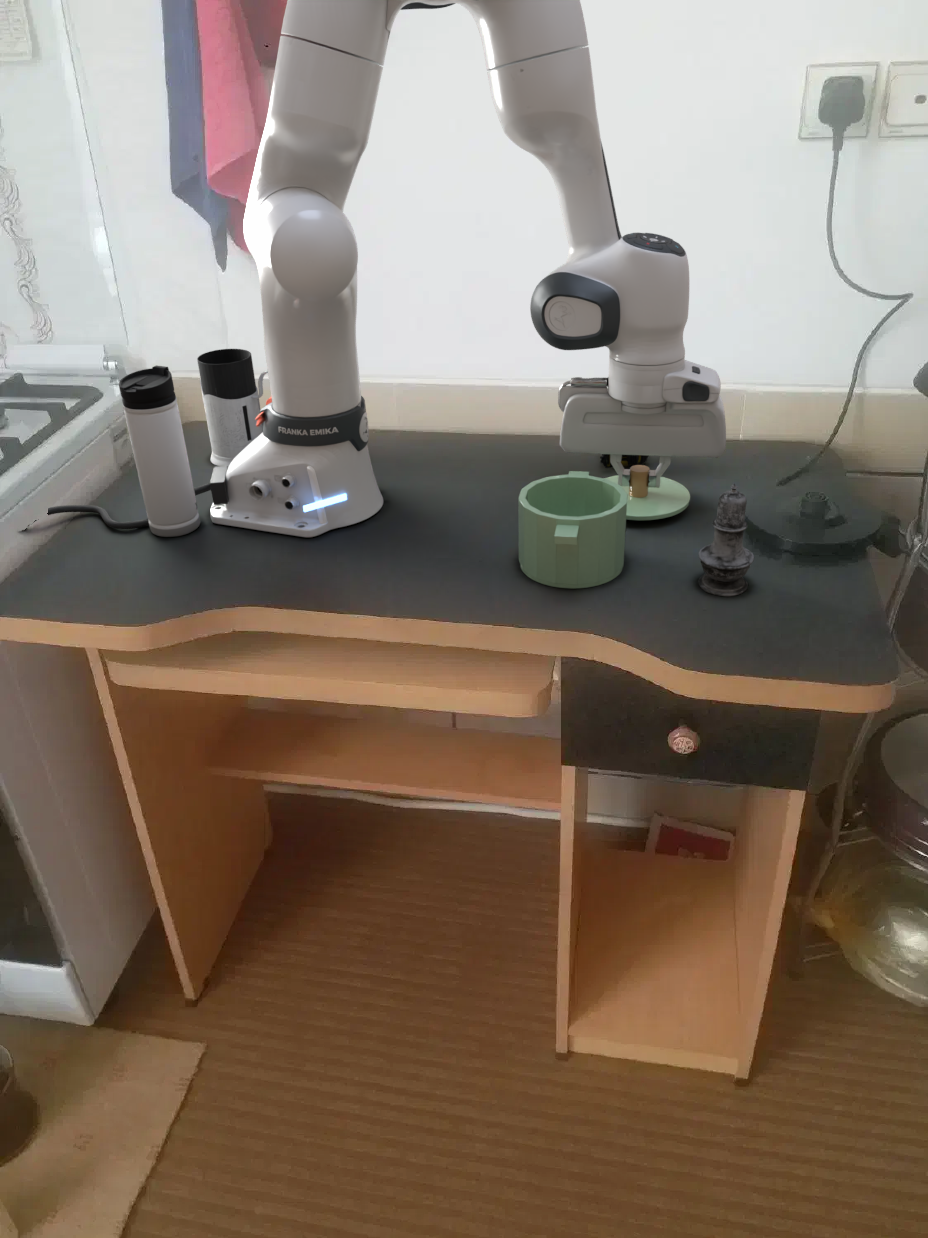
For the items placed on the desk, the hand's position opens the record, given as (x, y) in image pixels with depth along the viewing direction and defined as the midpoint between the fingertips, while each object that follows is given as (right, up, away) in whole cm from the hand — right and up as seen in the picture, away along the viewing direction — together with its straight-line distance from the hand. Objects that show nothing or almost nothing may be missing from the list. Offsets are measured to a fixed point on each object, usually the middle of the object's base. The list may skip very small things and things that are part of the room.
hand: (639, 485), depth 125 cm
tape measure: (0, +5, +14) cm, 14 cm away
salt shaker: (+6, -13, -16) cm, 22 cm away
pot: (-10, -11, -11) cm, 18 cm away
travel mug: (-59, -5, +2) cm, 59 cm away
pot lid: (0, -2, +1) cm, 2 cm away
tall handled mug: (-53, +6, +20) cm, 57 cm away
